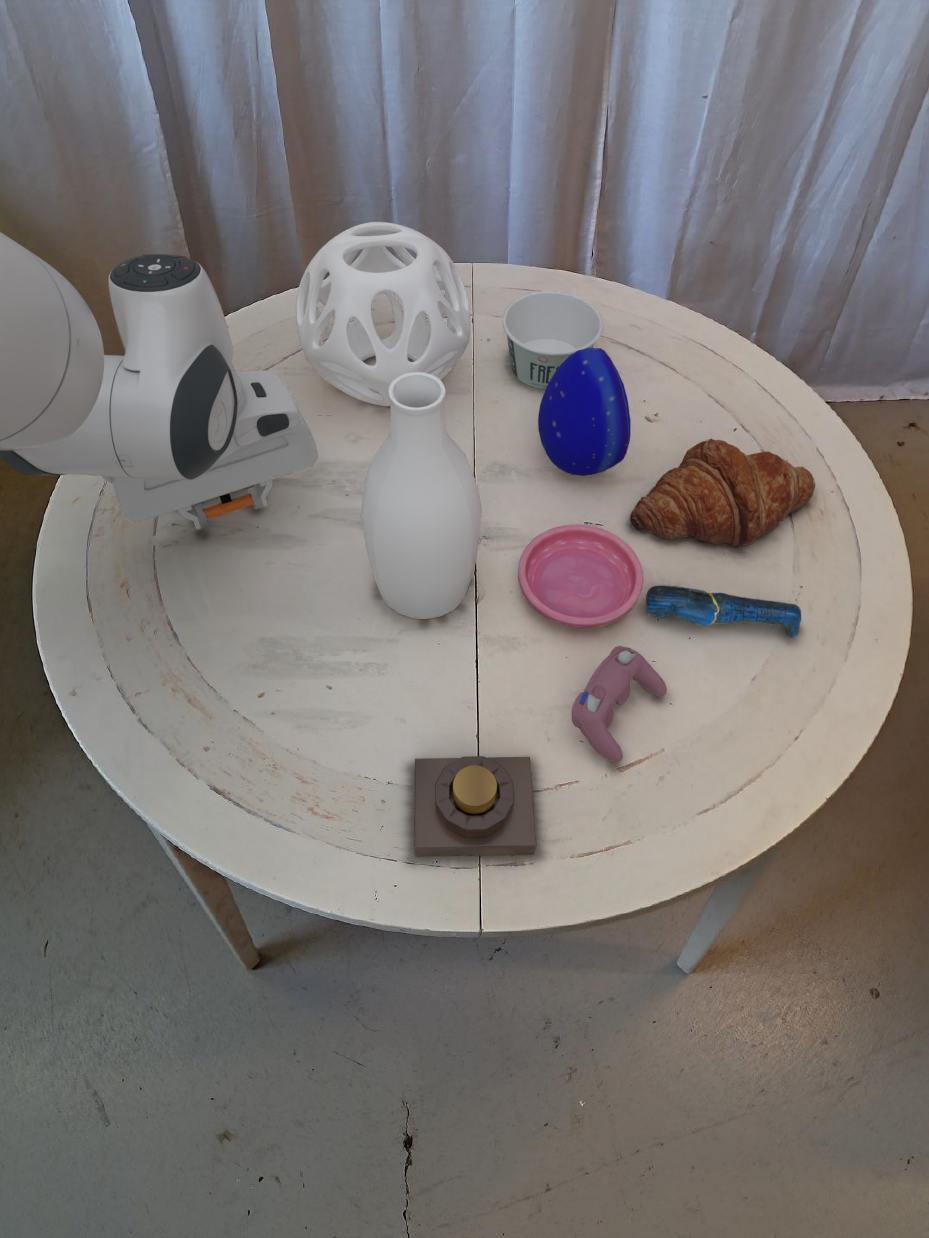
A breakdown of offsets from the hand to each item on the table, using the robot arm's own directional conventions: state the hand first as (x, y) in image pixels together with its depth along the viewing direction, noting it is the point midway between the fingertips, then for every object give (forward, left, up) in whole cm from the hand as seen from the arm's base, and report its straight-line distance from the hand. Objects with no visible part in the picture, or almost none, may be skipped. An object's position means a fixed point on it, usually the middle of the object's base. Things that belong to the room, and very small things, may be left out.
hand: (231, 513), depth 94 cm
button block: (+9, -41, -1) cm, 42 cm away
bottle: (+15, -17, -1) cm, 23 cm away
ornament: (+38, -8, -1) cm, 39 cm away
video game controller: (+25, -38, -1) cm, 45 cm away
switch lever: (0, +5, +3) cm, 6 cm away
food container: (+43, +8, -1) cm, 44 cm away
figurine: (+40, -33, -1) cm, 52 cm away
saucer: (+29, -24, -1) cm, 38 cm away
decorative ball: (+24, +14, -1) cm, 28 cm away
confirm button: (+9, -41, +3) cm, 42 cm away
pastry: (+49, -21, -1) cm, 53 cm away
